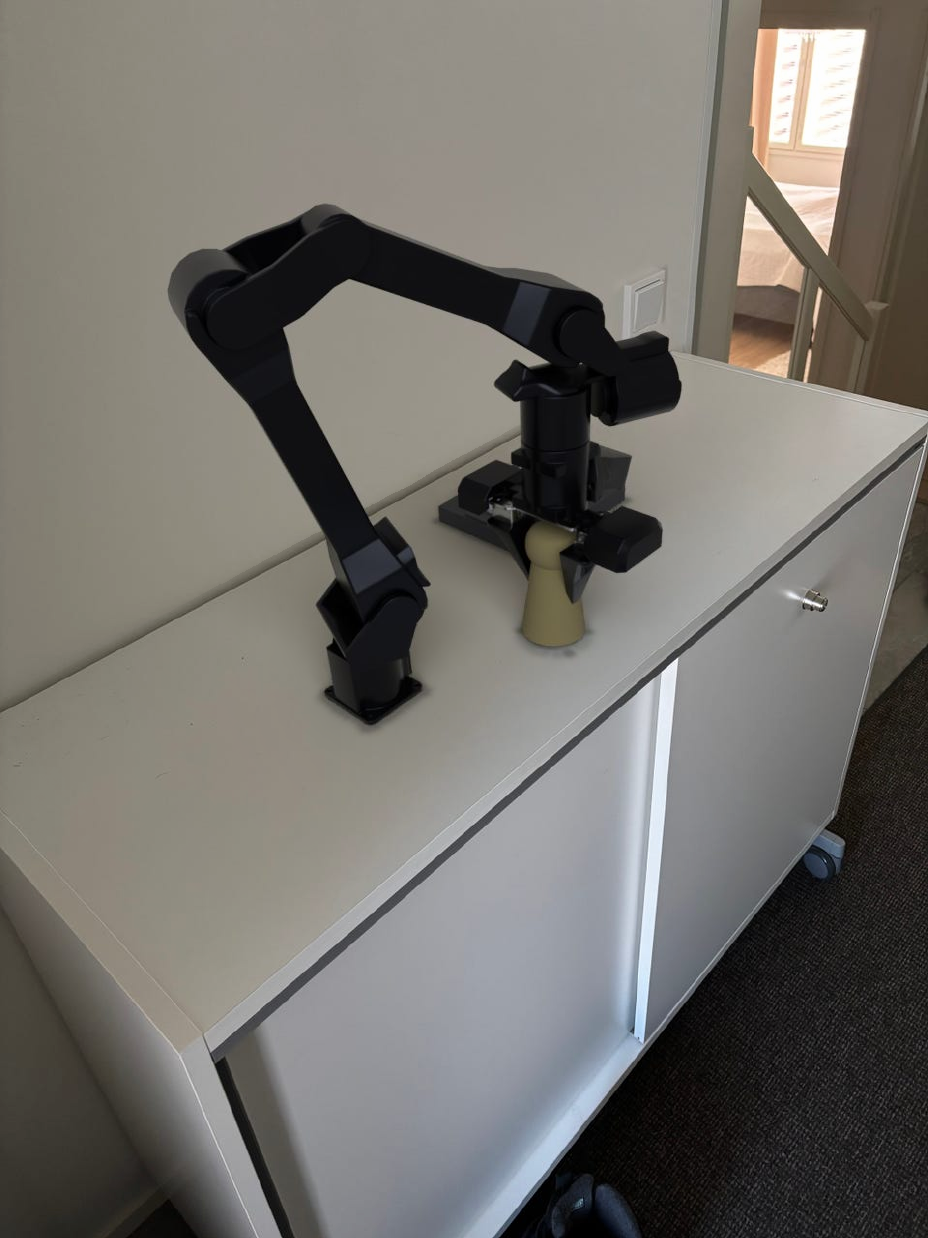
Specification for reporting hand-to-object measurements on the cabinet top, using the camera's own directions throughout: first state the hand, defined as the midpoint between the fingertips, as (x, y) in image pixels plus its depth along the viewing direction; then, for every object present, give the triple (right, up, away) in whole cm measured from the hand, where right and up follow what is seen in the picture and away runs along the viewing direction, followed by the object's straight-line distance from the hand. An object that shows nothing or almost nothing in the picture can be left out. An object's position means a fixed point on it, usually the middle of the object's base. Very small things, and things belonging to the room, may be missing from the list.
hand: (554, 592), depth 85 cm
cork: (0, -3, +2) cm, 4 cm away
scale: (0, +10, +22) cm, 25 cm away
